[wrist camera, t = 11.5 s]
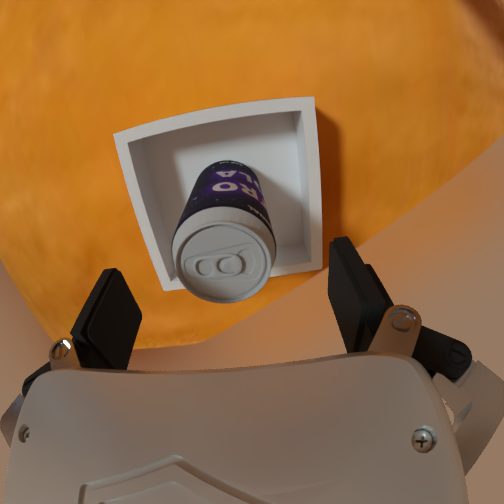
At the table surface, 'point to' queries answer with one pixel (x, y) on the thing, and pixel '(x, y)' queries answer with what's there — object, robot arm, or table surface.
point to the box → (236, 149)
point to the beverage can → (224, 235)
